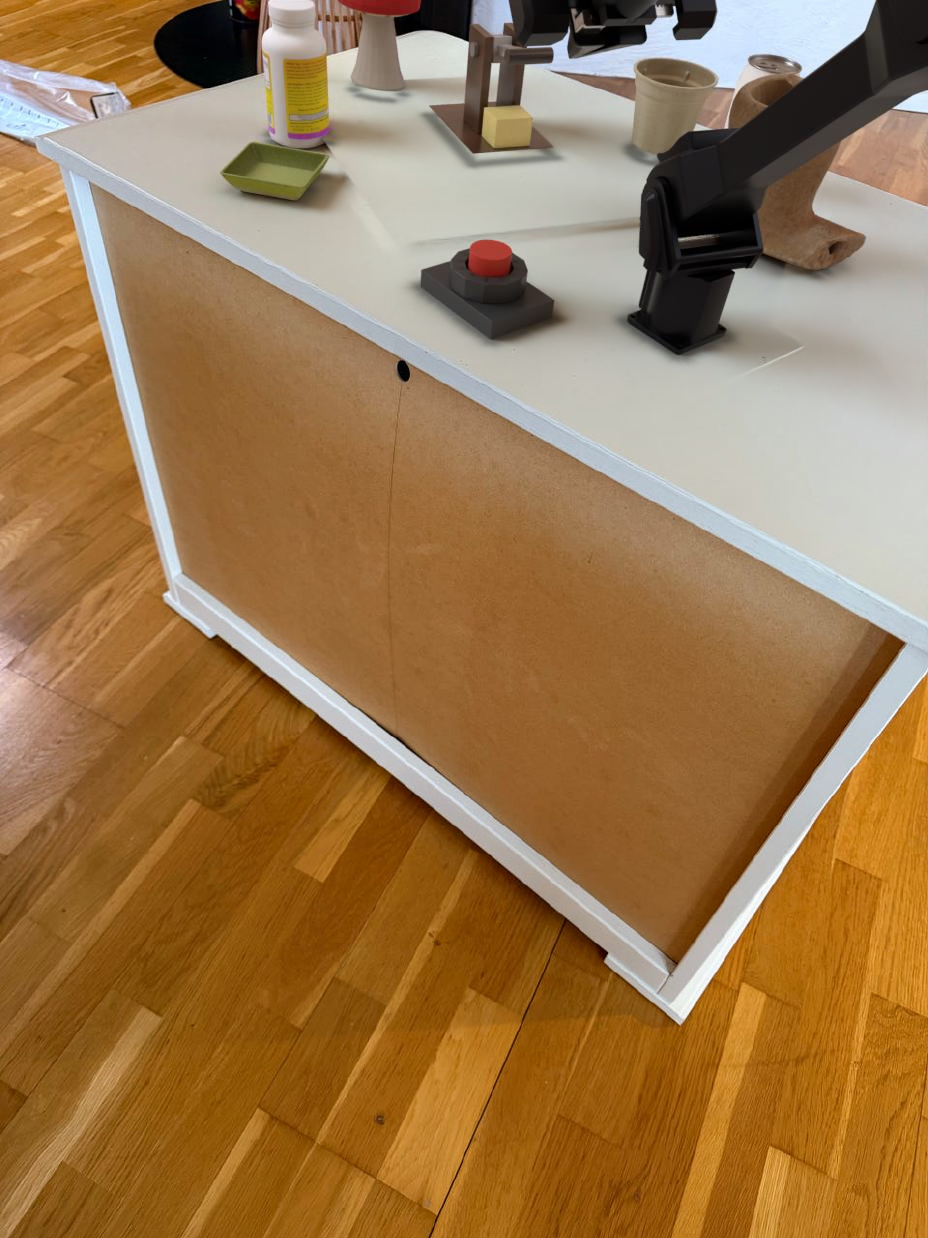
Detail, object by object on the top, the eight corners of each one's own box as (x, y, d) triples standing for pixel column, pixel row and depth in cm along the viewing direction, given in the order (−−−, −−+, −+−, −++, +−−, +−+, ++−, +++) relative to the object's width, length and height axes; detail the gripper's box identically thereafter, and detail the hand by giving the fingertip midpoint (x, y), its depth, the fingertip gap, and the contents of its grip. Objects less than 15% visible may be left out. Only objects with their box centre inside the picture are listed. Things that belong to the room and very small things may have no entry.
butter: (529, 145, 100) (533, 117, 97) (493, 148, 98) (496, 119, 96) (516, 133, 102) (520, 104, 100) (481, 135, 100) (483, 106, 98)
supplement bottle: (341, 138, 100) (339, 3, 90) (304, 155, 96) (297, 17, 86) (295, 121, 102) (287, -12, 92) (256, 138, 98) (244, 0, 88)
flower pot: (713, 163, 104) (736, 80, 97) (654, 176, 100) (674, 91, 93) (659, 133, 109) (678, 52, 102) (601, 145, 105) (616, 62, 98)
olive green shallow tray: (252, 160, 94) (250, 139, 93) (331, 174, 93) (330, 153, 92) (220, 194, 88) (218, 172, 87) (305, 209, 88) (303, 187, 86)
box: (551, 317, 78) (558, 280, 75) (490, 340, 75) (494, 301, 72) (480, 268, 83) (484, 231, 80) (420, 287, 80) (422, 249, 77)
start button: (518, 272, 76) (520, 253, 75) (485, 283, 75) (487, 263, 73) (491, 255, 78) (494, 235, 77) (459, 264, 76) (461, 245, 75)
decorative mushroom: (428, 89, 112) (434, -57, 101) (400, 111, 106) (404, -41, 95) (356, 73, 114) (355, -72, 102) (325, 94, 108) (320, -58, 97)
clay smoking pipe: (671, 234, 91) (714, 70, 79) (735, 204, 97) (783, 47, 85) (800, 296, 84) (866, 126, 73) (859, 260, 90) (929, 98, 79)
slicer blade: (553, 69, 92) (554, 41, 90) (509, 71, 90) (510, 43, 89) (512, 59, 99) (513, 33, 98) (471, 60, 98) (471, 34, 96)
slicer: (553, 157, 101) (569, 49, 93) (471, 164, 98) (481, 53, 90) (504, 110, 109) (515, 7, 101) (428, 115, 106) (432, 10, 98)
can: (768, 198, 98) (808, 78, 89) (709, 188, 99) (744, 67, 90) (766, 175, 103) (804, 58, 94) (710, 166, 103) (743, 48, 94)
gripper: (740, -167, 71) (641, -39, 86) (529, -177, 65) (462, -37, 80) (764, -20, 72) (662, 82, 87) (558, -17, 66) (487, 92, 81)
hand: (571, 52), depth 84 cm, fingers closed
